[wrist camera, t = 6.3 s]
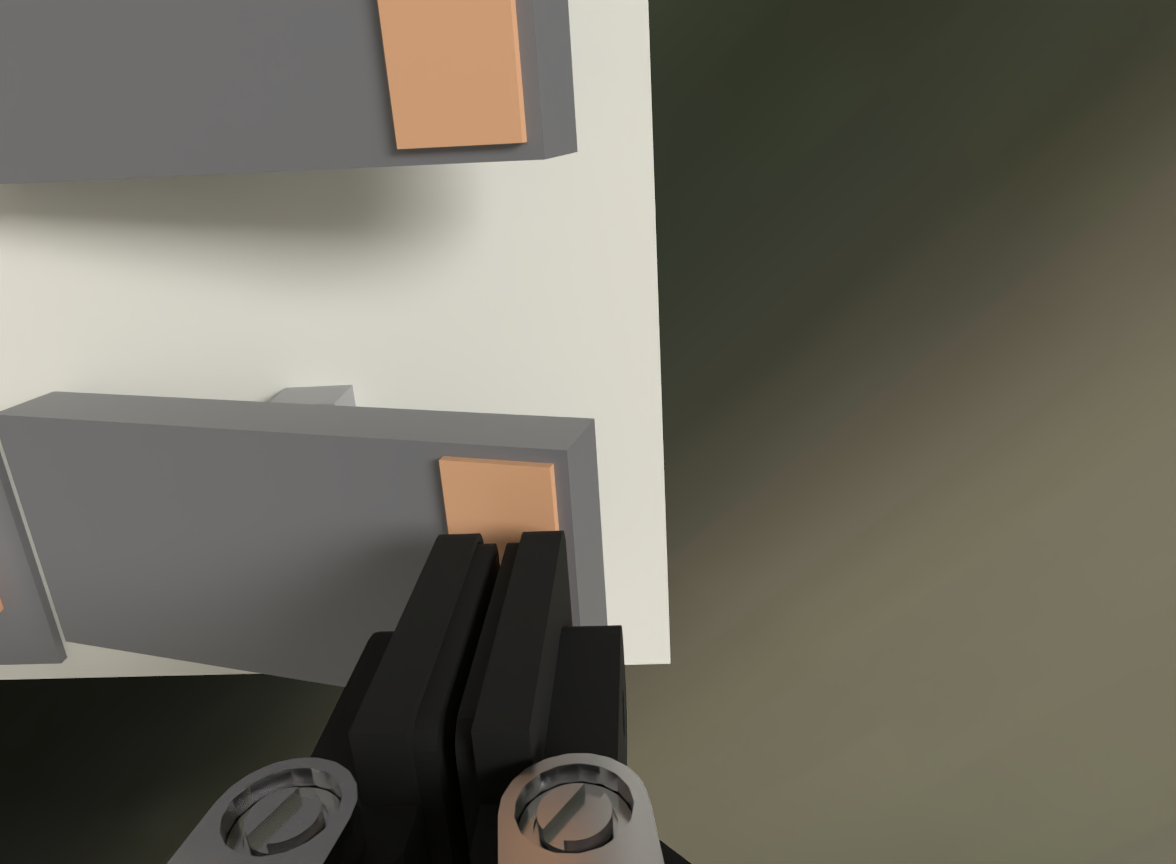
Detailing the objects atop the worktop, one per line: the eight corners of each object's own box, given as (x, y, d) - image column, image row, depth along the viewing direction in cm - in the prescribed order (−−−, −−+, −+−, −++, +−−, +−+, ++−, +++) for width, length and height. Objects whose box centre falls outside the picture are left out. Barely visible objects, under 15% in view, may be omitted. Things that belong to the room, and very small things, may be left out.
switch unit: (-554, -768, 13) (-1182, -1227, 9) (609, -935, 12) (597, -1568, 8) (-52, 584, 22) (-236, 716, 17) (663, 562, 21) (672, 696, 16)
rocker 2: (53, 391, 15) (-17, 416, 14) (594, 418, 12) (563, 454, 11) (117, 606, 17) (59, 645, 16) (610, 677, 14) (585, 733, 13)
